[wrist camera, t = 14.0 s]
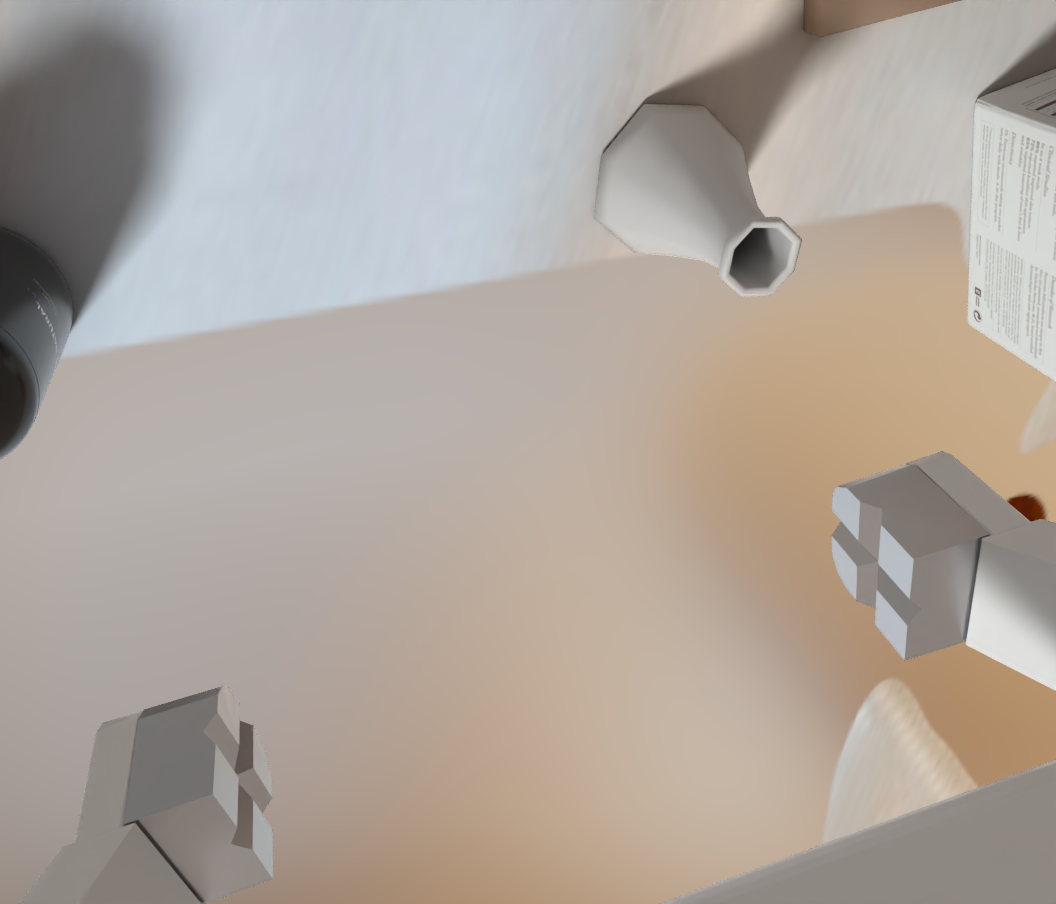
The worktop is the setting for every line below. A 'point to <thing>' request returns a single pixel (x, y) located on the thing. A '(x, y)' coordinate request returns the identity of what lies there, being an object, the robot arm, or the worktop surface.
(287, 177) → the worktop surface
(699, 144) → the flask
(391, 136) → the worktop surface
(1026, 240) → the supplement box
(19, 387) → the supplement bottle
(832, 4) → the square holder on base
